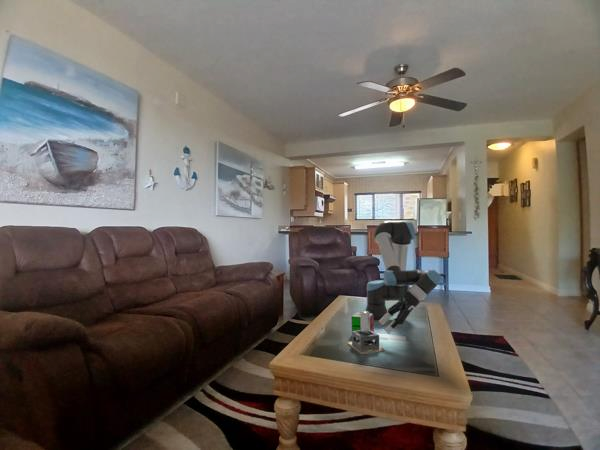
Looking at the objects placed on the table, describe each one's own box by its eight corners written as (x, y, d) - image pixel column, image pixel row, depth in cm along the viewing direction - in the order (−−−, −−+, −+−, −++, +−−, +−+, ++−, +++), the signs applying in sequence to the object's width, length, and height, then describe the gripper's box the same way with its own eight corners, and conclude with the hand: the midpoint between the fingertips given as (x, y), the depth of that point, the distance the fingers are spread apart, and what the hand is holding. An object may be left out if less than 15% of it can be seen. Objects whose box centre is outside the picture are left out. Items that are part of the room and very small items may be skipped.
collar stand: (347, 343, 150) (347, 329, 150) (369, 340, 153) (368, 327, 154) (361, 354, 137) (360, 339, 137) (384, 350, 140) (384, 336, 140)
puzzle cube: (373, 331, 168) (373, 313, 168) (370, 337, 159) (369, 318, 159) (356, 329, 172) (355, 311, 173) (351, 334, 163) (351, 316, 164)
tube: (359, 344, 146) (358, 311, 147) (367, 343, 148) (366, 310, 148) (363, 347, 142) (363, 313, 143) (372, 346, 143) (371, 312, 144)
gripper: (429, 308, 131) (395, 342, 132) (412, 296, 156) (383, 325, 157) (416, 295, 132) (382, 330, 133) (401, 286, 157) (373, 315, 157)
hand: (383, 327), depth 145 cm, fingers open, 13 cm apart
